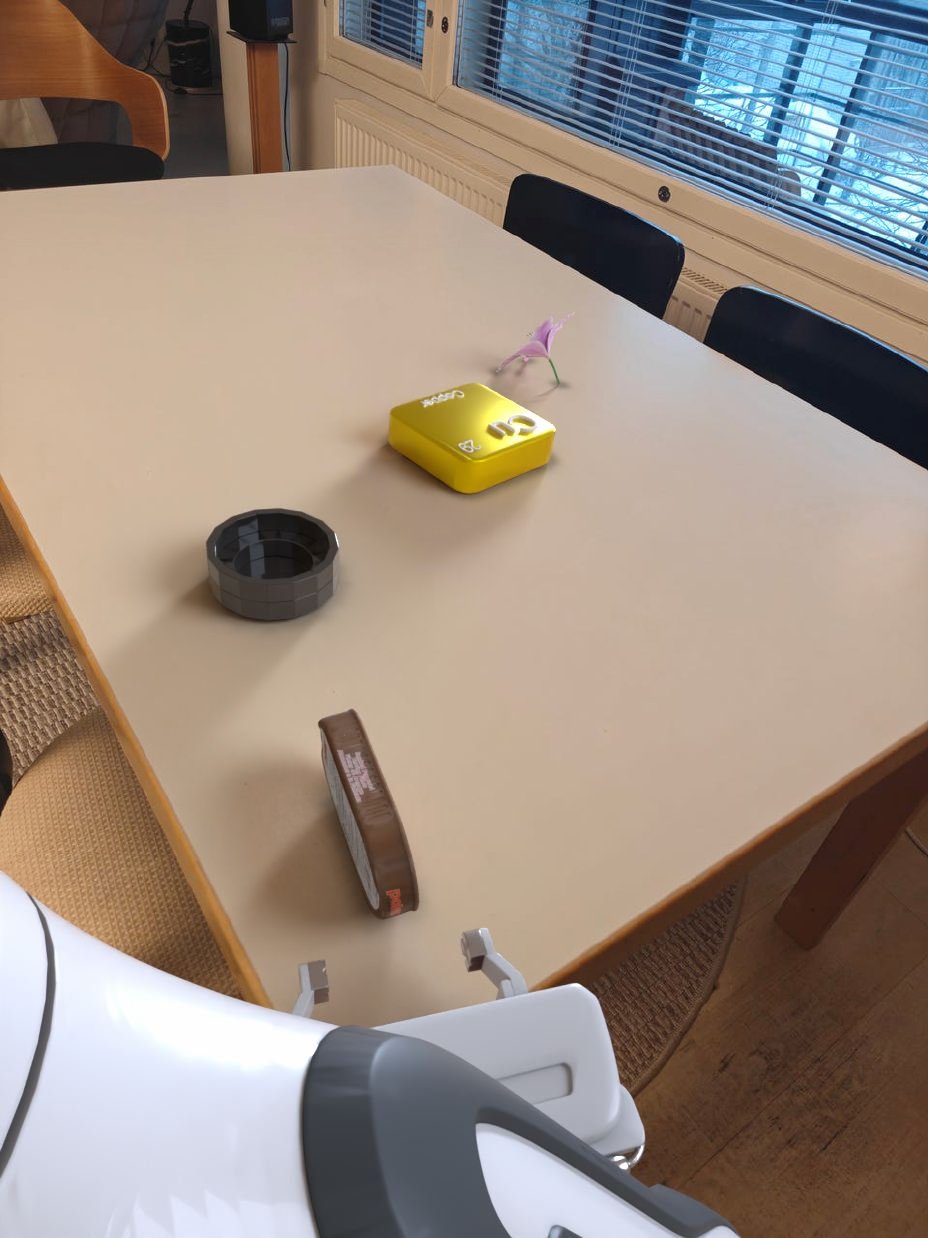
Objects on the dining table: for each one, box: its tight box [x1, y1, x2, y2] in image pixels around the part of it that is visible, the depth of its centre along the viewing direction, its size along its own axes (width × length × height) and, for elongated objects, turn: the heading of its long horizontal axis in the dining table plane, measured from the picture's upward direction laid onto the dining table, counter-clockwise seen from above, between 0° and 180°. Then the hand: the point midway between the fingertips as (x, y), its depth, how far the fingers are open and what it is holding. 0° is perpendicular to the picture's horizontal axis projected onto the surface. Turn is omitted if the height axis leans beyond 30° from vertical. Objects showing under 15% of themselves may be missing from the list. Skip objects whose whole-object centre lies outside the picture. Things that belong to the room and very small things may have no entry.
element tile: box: [387, 382, 556, 495], centre depth 101 cm, size 15×15×5 cm
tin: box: [317, 708, 420, 921], centre depth 57 cm, size 15×3×8 cm, turn 22°
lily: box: [495, 311, 576, 385], centre depth 118 cm, size 12×12×10 cm
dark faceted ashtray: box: [205, 507, 340, 621], centre depth 79 cm, size 12×12×4 cm
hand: (394, 949), depth 49 cm, fingers open, 8 cm apart
